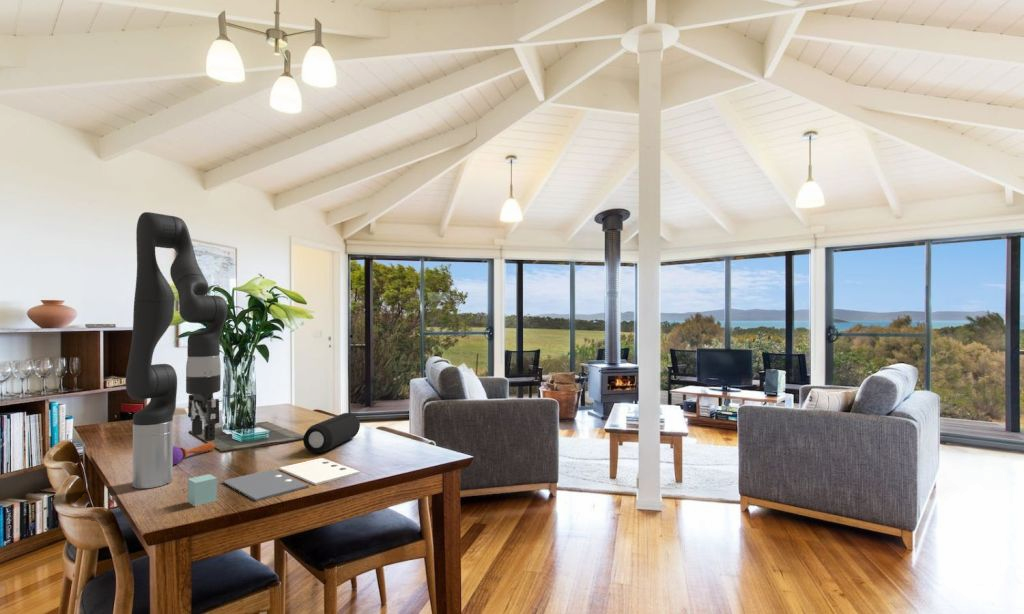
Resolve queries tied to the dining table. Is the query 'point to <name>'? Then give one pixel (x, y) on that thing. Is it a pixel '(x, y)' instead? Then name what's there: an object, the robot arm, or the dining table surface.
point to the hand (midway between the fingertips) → (203, 437)
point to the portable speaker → (331, 433)
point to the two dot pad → (265, 484)
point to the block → (202, 489)
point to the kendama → (190, 451)
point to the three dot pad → (319, 471)
